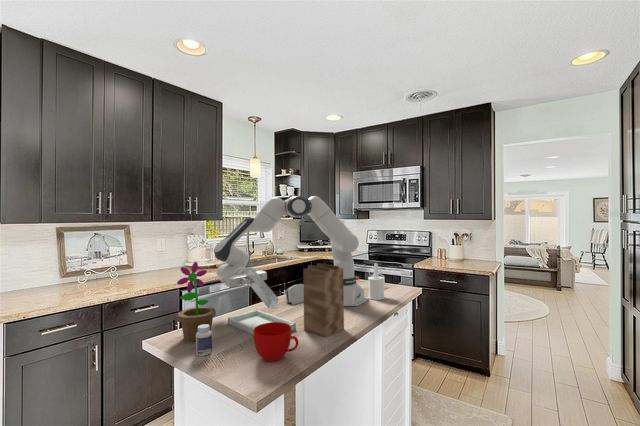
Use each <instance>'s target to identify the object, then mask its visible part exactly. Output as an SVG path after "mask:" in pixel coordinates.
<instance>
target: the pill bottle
mask: <svg viewBox="0 0 640 426" xmlns="http://www.w3.org/2000/svg"><path fill="white" fill-rule="evenodd" d="M209 329H210V326H209V325H208V324H203V325H200V326H198V332H197V333H196V342H195V353H196V355H197V356H198V355H199V356H198V357H204V356H205V355H206V356H209V355H210V354H212V352H213V338H212V337H213V333H212V332H213V331H212V330H211V331H210V330H209ZM208 354H209V355H208ZM206 356H205V357H206Z"/></svg>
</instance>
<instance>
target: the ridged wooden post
mask: <svg viewBox="0 0 640 426" xmlns="http://www.w3.org/2000/svg"><path fill="white" fill-rule="evenodd" d="M302 270H303V273H302V274H303V276H302V277H303V279H302V280H303V283H302V284H303V285H304V302H303V330H304V331H306V332H309V333H310V334H311V333H312V334H314V335H317V336H320V337H323V338H327V337H329V336H332V335H334V334H336V333H338V332H340V331H342V330H344V329H345V312H344V308H345V306H344V295H343V268H339V266H334V264H327V263H320V262H317V263H316V265H312V264H308V265H307V268H303V269H302Z"/></svg>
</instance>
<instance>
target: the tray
mask: <svg viewBox="0 0 640 426" xmlns="http://www.w3.org/2000/svg"><path fill="white" fill-rule="evenodd" d="M270 322H281V323H286V324H288V325H290V326H291V332H294V331H296V330H297V328H296V327H297V324H296V322H293V321H290V320H287V319H285V318H282V317H279V316H276V315H273V314H270V313H267V312H265V311H262V310H259V309H256V310H255V309H254V310H252V311H247V312H245V313H241V314H238V315H233V316H230V317H228V318H227V325H229V326H231V327H233V328H236V329H238V330H241V331H242V332H244V333H247V334H249V335H251V336H253V337H254V334H253V332H254V328H255V327H257V326H259V325H261V324H264V323H270Z"/></svg>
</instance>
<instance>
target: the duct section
mask: <svg viewBox="0 0 640 426" xmlns="http://www.w3.org/2000/svg"><path fill="white" fill-rule="evenodd" d="M245 279H251V280H252V284H248V285H249V286H250V287H251V288H252V290H253V291H254V293H255V294H256V295H257V296H258V297H259V299H260V300H261V302H263V304H264V305H265V306H266V307H267V308H268V310H269V309H272V308H274V307H277V305H278V303H279V301H280V299H279V297H278V296H277V295H276V293H274V291H273V290H272V289H271V288H270V287H269V285H268V284H267V283H266V282H265V280H262V278H261V277H260V276H259V275H258V274H257V272H256V271H255V270H254V271H248V272H247V274H246V278H245Z"/></svg>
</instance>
